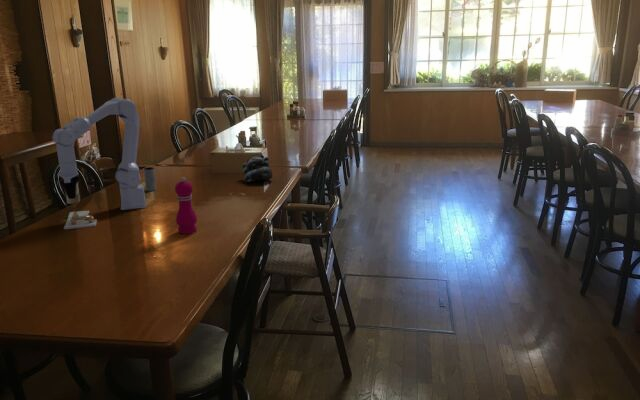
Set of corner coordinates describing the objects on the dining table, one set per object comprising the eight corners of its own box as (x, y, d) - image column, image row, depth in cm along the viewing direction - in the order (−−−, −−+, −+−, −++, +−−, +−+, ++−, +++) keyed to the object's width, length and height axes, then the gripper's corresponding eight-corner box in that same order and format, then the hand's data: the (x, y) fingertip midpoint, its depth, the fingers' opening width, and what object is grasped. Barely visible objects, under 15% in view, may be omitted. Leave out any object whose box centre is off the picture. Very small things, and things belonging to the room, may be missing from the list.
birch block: (80, 199, 195) (77, 182, 193) (78, 202, 191) (76, 184, 189) (68, 200, 194) (65, 183, 192) (67, 203, 190) (64, 185, 188)
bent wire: (96, 215, 197) (95, 209, 197) (93, 222, 190) (93, 216, 189) (74, 218, 195) (73, 211, 194) (71, 224, 188) (70, 218, 187)
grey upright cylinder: (153, 191, 233) (151, 169, 230) (144, 191, 233) (141, 169, 230) (158, 189, 237) (156, 167, 234) (149, 188, 238) (147, 167, 235)
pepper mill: (201, 229, 184) (197, 175, 178) (190, 236, 178) (186, 180, 172) (184, 227, 187) (179, 174, 181) (173, 233, 180) (167, 179, 174)
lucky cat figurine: (239, 184, 243) (235, 156, 246) (250, 187, 255) (245, 161, 257) (268, 176, 240) (263, 148, 242) (277, 180, 251) (272, 153, 254)
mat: (89, 211, 205) (89, 210, 205) (87, 216, 199) (87, 215, 199) (70, 213, 203) (70, 212, 203) (67, 218, 197) (67, 217, 197)
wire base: (98, 217, 198) (97, 215, 198) (95, 226, 188) (95, 224, 188) (68, 220, 195) (68, 218, 195) (64, 229, 185) (63, 227, 185)
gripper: (58, 158, 194) (64, 192, 198) (52, 166, 180) (58, 203, 184) (78, 157, 196) (83, 191, 200) (74, 165, 182) (79, 201, 186)
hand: (73, 196), depth 192 cm, fingers closed on birch block, 4 cm apart
